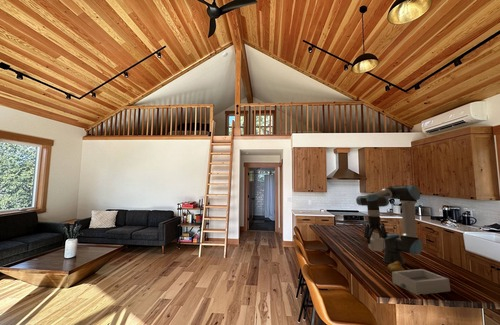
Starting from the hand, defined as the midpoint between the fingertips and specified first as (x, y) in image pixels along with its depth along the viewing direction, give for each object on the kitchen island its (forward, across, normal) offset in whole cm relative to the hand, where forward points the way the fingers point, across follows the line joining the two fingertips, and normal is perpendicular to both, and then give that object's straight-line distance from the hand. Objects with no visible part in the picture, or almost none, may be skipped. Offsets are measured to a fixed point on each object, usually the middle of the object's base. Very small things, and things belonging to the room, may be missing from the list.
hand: (376, 248), depth 150 cm
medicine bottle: (+1, 0, 0) cm, 1 cm away
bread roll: (+21, +19, +5) cm, 29 cm away
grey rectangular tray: (+21, +16, -16) cm, 30 cm away
